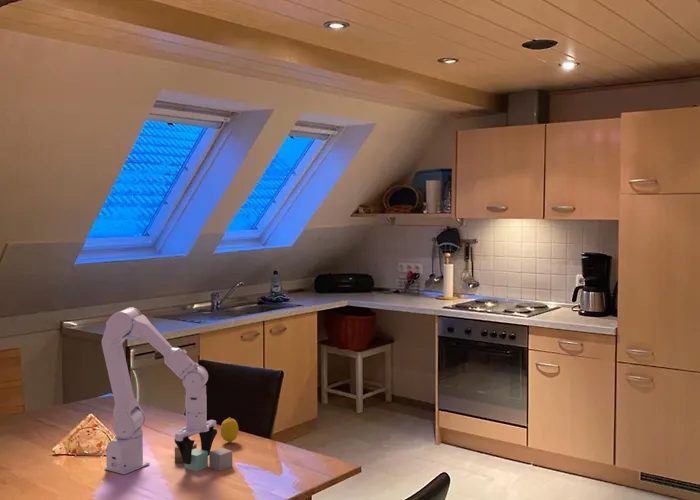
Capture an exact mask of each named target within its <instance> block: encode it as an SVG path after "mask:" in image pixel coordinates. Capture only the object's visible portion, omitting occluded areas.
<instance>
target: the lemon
mask: <svg viewBox="0 0 700 500" xmlns="http://www.w3.org/2000/svg"><path fill="white" fill-rule="evenodd" d="M239 432H240V431H239V424H238V422H237V420H235V419H234V418H231V417H228V418H227V419H224V420H223V421H222V423H221V426H220V436H221V438H222V439H223V440H224V441H226V442H227V443H228V444H231V443H232V442H234V441H235V440H236V439H237V438H238V436H239Z"/></svg>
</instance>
